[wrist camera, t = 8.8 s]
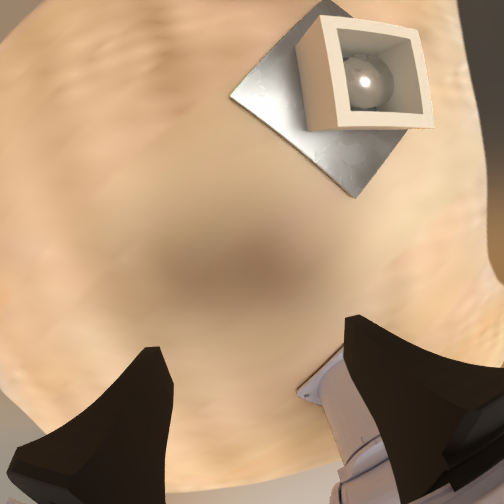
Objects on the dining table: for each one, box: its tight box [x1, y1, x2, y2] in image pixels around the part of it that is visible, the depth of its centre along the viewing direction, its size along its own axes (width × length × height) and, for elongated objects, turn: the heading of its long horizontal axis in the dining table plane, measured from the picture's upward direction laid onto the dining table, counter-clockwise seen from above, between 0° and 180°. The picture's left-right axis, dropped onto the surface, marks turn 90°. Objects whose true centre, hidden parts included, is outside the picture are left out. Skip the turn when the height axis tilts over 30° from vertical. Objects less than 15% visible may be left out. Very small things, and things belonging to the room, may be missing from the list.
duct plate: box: [230, 0, 408, 199], centre depth 14 cm, size 10×10×4 cm
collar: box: [295, 15, 435, 132], centre depth 13 cm, size 6×6×5 cm
